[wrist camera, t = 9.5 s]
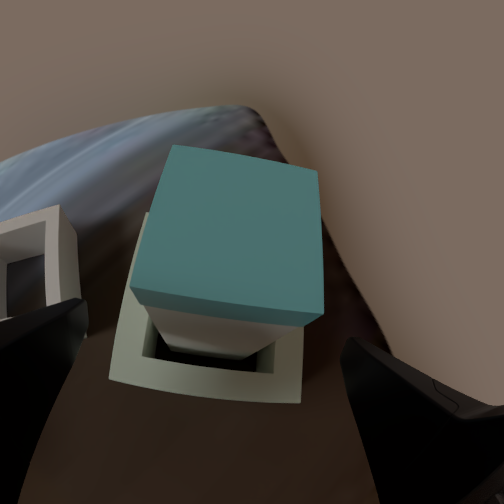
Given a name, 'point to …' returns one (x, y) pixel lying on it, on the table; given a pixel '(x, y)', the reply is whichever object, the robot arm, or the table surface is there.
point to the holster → (42, 252)
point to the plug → (230, 253)
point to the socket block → (197, 377)
